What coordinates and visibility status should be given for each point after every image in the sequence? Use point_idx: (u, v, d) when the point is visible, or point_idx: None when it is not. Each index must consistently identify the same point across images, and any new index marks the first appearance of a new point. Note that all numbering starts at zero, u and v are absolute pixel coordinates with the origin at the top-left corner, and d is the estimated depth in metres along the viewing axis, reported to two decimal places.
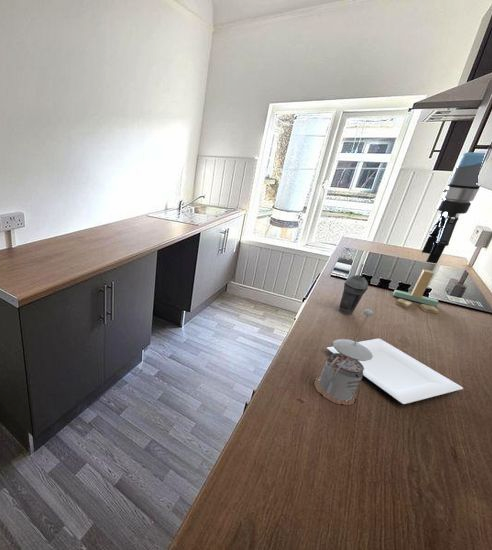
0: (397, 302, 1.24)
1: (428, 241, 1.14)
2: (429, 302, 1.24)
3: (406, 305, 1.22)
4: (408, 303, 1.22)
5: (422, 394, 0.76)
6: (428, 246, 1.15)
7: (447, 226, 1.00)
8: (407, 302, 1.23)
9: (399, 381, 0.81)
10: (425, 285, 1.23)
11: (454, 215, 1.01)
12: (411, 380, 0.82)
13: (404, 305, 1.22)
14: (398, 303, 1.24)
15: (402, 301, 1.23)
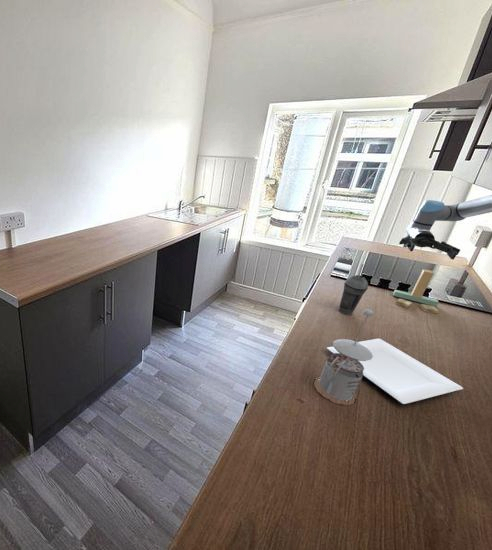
0: (397, 302, 1.24)
1: (448, 254, 1.28)
2: (429, 302, 1.24)
3: (406, 305, 1.22)
4: (408, 303, 1.22)
5: (422, 394, 0.76)
6: (450, 254, 1.26)
7: None
8: (407, 302, 1.23)
9: (399, 381, 0.81)
10: (425, 285, 1.23)
11: None
12: (411, 380, 0.82)
13: (404, 305, 1.22)
14: (398, 303, 1.24)
15: (402, 301, 1.23)
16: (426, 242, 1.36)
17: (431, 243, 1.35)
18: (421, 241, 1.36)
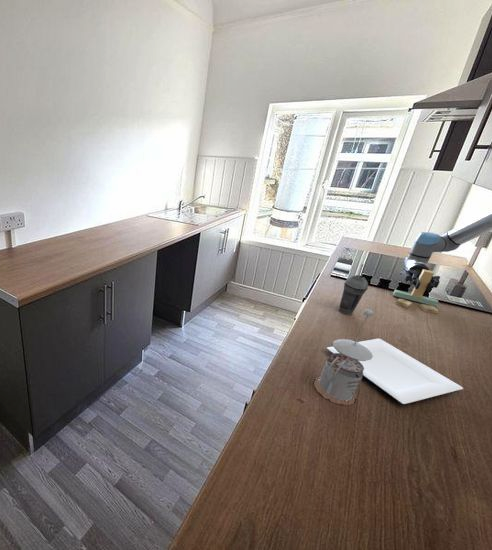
0: (397, 302, 1.24)
1: None
2: (429, 302, 1.24)
3: (406, 305, 1.22)
4: (408, 303, 1.22)
5: (422, 394, 0.76)
6: (427, 287, 1.21)
7: (402, 274, 1.33)
8: (407, 302, 1.23)
9: (399, 381, 0.81)
10: (425, 285, 1.23)
11: (408, 269, 1.36)
12: (411, 380, 0.82)
13: (404, 305, 1.22)
14: (398, 303, 1.24)
15: (402, 301, 1.23)
16: (419, 275, 1.31)
17: None
18: None
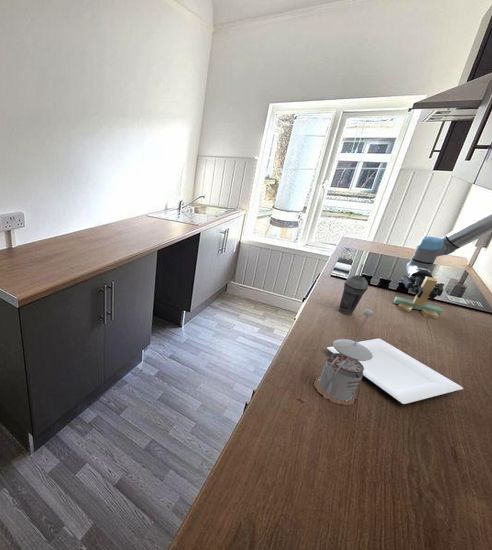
0: (399, 307, 1.20)
1: (429, 295, 1.16)
2: (432, 310, 1.17)
3: (408, 310, 1.18)
4: (410, 308, 1.18)
5: (422, 394, 0.76)
6: (430, 295, 1.14)
7: (404, 281, 1.26)
8: (409, 307, 1.19)
9: (399, 381, 0.81)
10: (428, 293, 1.16)
11: (410, 276, 1.29)
12: (411, 380, 0.82)
13: (406, 310, 1.18)
14: (400, 308, 1.20)
15: (403, 306, 1.20)
16: (422, 282, 1.24)
17: None
18: None
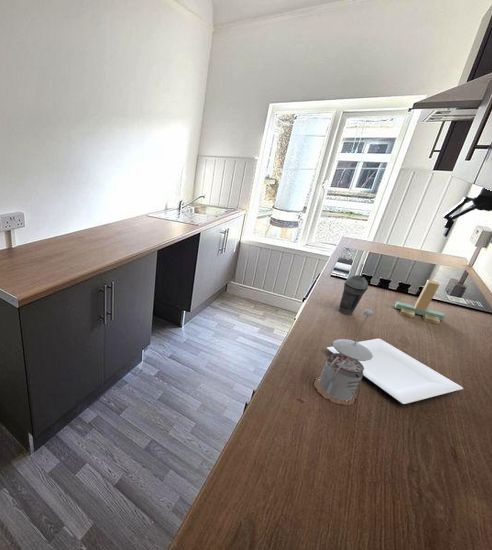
0: (401, 313, 1.16)
1: None
2: None
3: (412, 316, 1.14)
4: (413, 313, 1.15)
5: (422, 394, 0.76)
6: None
7: (458, 204, 1.20)
8: (411, 312, 1.15)
9: (399, 381, 0.81)
10: (430, 297, 1.12)
11: (476, 197, 1.16)
12: (411, 380, 0.82)
13: (409, 316, 1.14)
14: (403, 314, 1.16)
15: (406, 311, 1.16)
16: None
17: (489, 210, 1.15)
18: (477, 209, 1.17)
